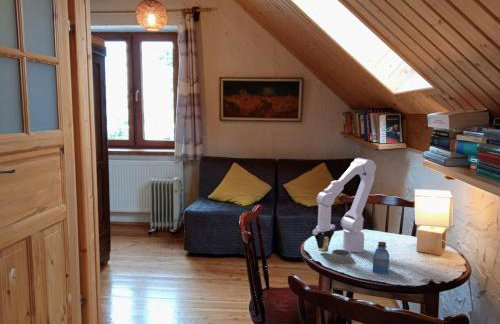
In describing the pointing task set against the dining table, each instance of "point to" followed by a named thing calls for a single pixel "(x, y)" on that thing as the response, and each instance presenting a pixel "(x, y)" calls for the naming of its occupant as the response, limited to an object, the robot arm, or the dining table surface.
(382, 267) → the blue corked bottle
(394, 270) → the dining table surface
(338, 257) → the bottle holder
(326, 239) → the wooden peg
